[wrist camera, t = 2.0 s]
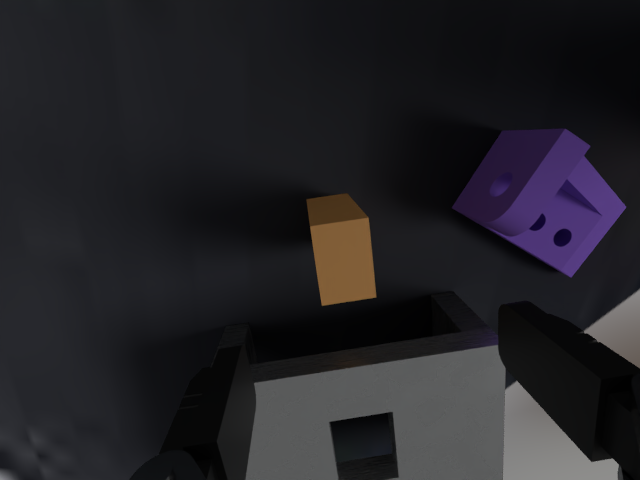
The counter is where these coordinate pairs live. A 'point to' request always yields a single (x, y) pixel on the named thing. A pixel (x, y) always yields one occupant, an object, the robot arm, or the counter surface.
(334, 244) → the orange rectangular block
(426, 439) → the grey slotted platform
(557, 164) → the bracket
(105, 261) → the counter surface
